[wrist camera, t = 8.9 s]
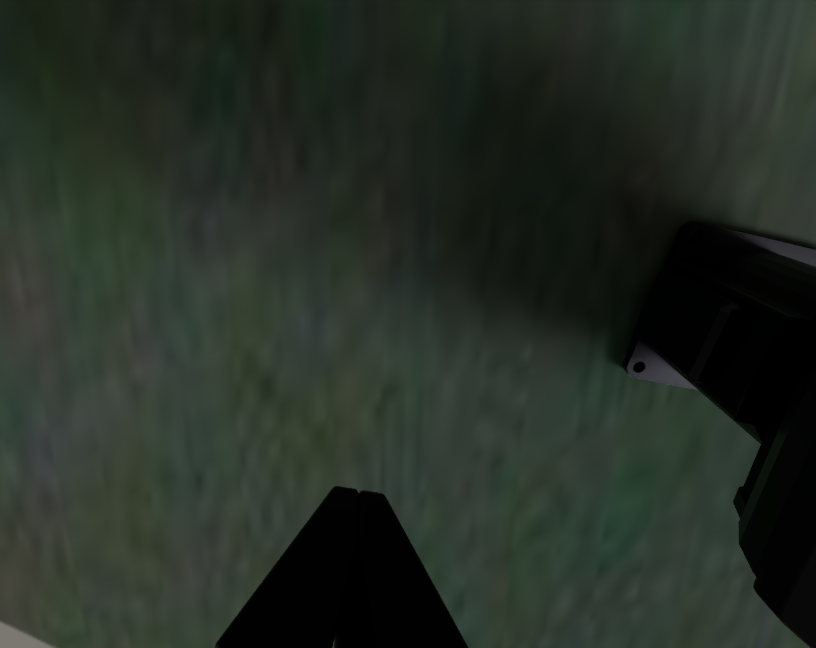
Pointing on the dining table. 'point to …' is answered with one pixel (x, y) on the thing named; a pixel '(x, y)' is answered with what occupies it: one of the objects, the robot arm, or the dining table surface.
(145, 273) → the dining table surface
